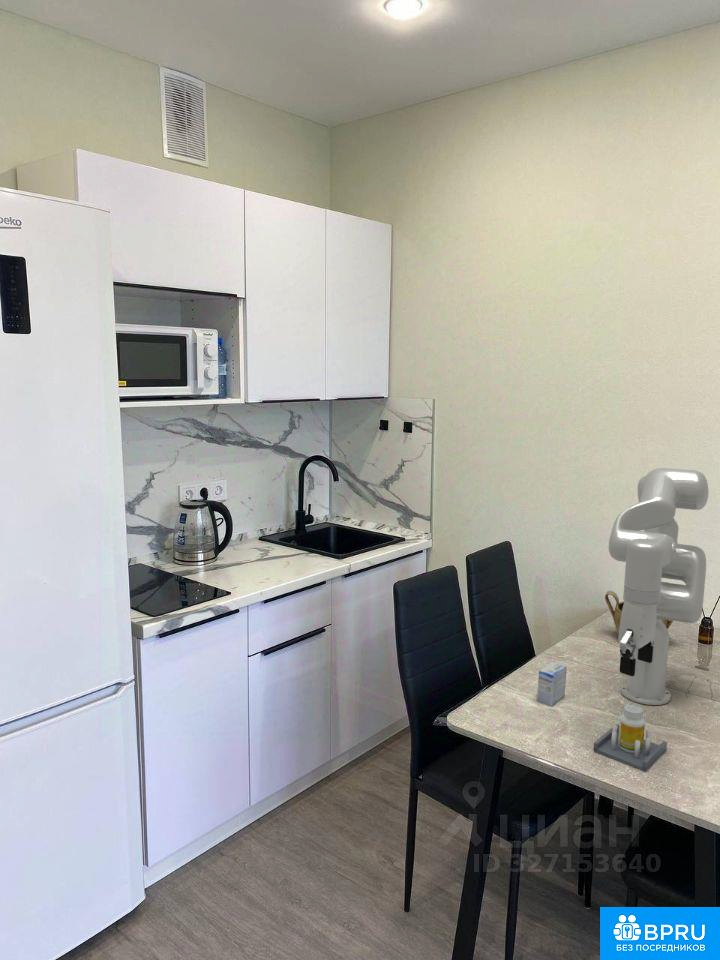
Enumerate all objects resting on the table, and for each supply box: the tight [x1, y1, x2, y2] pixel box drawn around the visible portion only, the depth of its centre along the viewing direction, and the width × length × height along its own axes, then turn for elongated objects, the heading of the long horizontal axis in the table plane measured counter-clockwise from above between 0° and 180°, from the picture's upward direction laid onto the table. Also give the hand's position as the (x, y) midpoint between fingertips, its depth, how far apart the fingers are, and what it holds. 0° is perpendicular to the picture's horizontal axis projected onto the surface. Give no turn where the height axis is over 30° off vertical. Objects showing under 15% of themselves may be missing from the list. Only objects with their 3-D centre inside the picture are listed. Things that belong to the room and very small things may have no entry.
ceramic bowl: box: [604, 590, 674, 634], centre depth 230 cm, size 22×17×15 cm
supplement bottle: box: [618, 704, 646, 753], centre depth 164 cm, size 5×5×10 cm
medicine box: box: [536, 661, 568, 707], centre depth 190 cm, size 8×4×9 cm, turn 141°
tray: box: [592, 723, 668, 773], centre depth 165 cm, size 12×12×5 cm
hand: (636, 667), depth 162 cm, fingers open, 9 cm apart
